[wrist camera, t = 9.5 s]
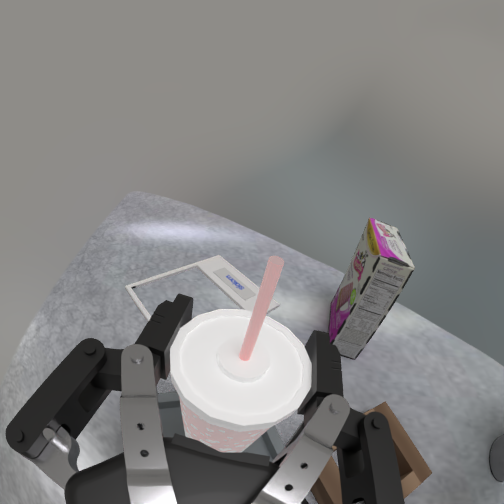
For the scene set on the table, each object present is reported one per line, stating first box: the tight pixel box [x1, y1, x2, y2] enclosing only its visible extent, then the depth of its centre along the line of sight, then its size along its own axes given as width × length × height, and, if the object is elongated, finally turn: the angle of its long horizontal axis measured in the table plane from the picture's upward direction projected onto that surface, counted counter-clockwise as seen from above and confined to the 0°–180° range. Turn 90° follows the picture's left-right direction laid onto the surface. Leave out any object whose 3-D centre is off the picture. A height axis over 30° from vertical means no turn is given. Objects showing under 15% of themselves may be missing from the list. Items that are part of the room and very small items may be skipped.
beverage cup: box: [170, 256, 312, 452], centre depth 12 cm, size 6×6×14 cm
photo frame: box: [125, 255, 280, 322], centre depth 38 cm, size 15×1×18 cm
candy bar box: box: [329, 218, 415, 359], centre depth 34 cm, size 11×5×16 cm, turn 164°
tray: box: [157, 392, 285, 462], centre depth 19 cm, size 13×13×2 cm
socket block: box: [311, 402, 432, 504], centre depth 19 cm, size 12×12×3 cm
